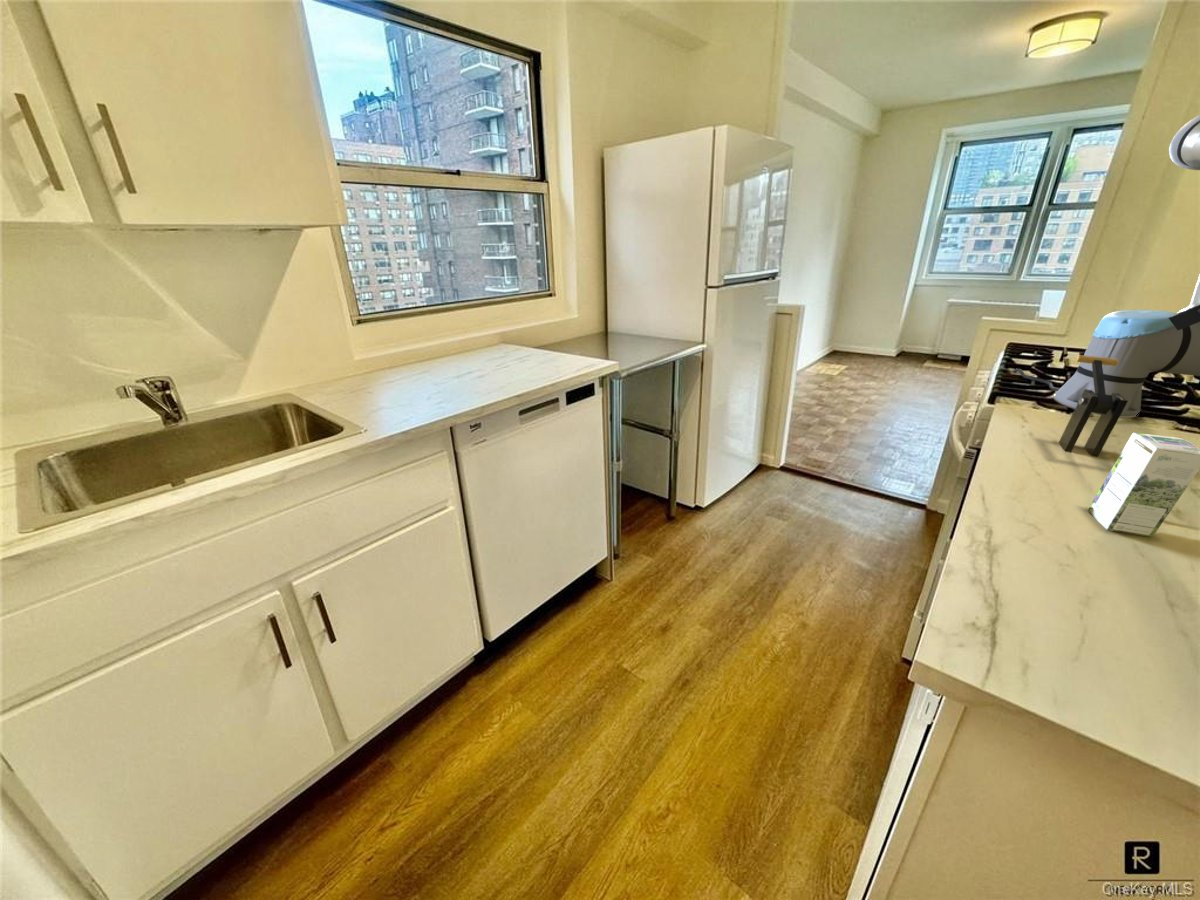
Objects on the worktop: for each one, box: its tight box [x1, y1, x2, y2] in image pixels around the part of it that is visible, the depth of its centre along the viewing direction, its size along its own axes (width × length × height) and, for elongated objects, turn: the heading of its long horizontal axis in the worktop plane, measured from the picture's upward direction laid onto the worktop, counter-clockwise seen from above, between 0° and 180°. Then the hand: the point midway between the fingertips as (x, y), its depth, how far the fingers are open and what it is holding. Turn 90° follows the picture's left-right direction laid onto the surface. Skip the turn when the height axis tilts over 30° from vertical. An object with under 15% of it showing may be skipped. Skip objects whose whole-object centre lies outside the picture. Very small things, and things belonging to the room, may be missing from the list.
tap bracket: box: [1058, 389, 1128, 458], centre depth 93 cm, size 10×9×13 cm
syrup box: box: [1087, 432, 1200, 538], centre depth 72 cm, size 6×6×14 cm
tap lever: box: [1074, 354, 1119, 414], centre depth 94 cm, size 14×6×2 cm
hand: (1173, 323), depth 88 cm, fingers closed
